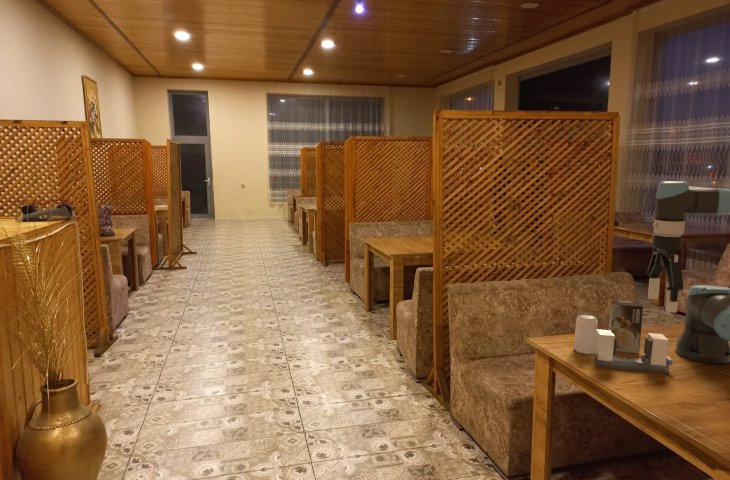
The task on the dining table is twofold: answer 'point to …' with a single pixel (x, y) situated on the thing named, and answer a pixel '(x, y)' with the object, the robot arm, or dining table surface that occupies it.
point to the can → (585, 333)
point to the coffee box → (626, 324)
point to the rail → (605, 358)
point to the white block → (656, 349)
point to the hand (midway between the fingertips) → (661, 305)
